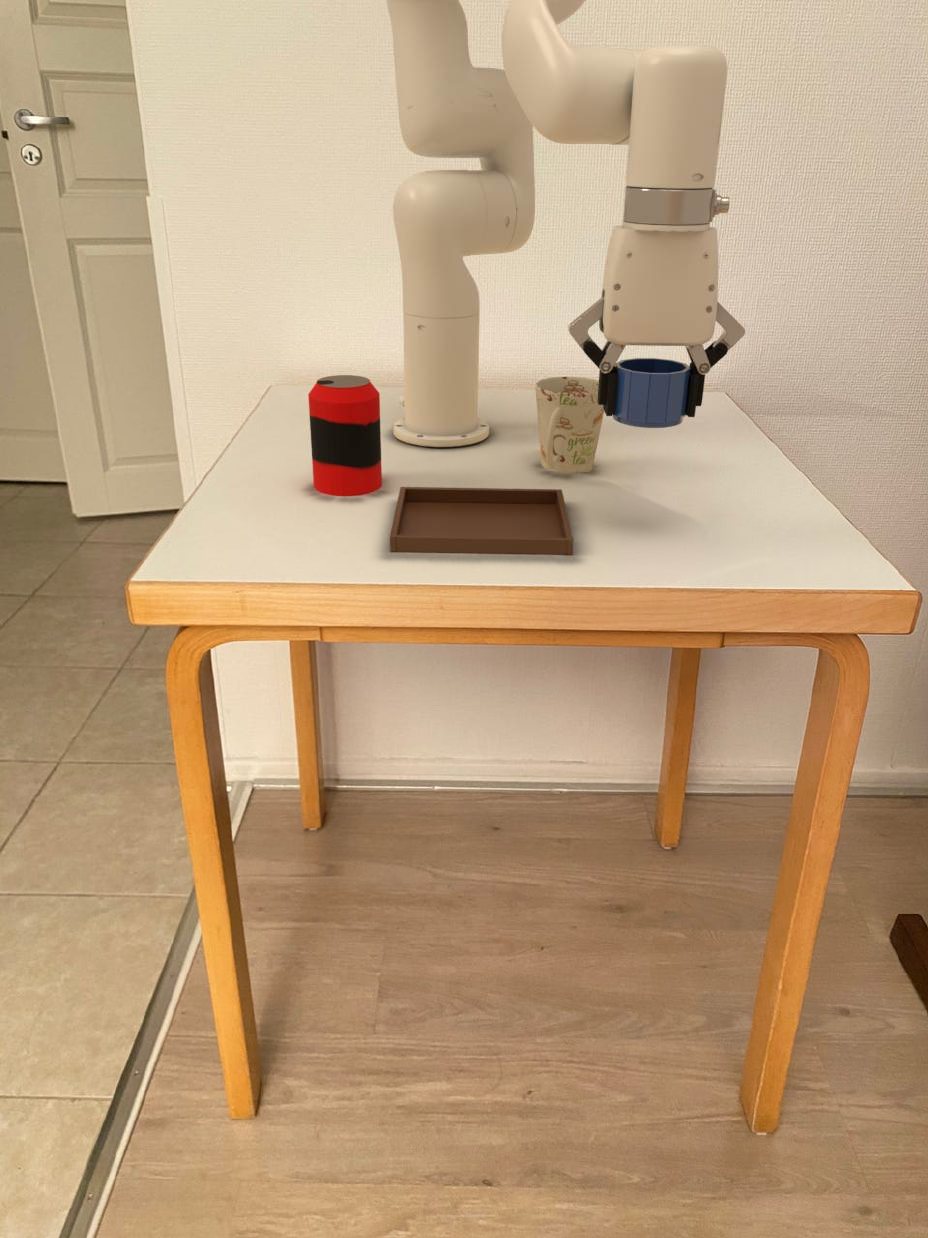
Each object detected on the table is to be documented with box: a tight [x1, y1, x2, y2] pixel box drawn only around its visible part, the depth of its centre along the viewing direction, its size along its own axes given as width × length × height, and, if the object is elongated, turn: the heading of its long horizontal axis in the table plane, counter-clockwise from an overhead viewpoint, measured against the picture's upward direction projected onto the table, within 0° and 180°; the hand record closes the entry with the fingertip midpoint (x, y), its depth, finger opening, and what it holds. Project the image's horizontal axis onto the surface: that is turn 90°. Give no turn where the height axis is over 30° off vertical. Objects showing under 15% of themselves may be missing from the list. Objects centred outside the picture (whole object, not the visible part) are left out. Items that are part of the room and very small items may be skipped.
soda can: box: [307, 374, 383, 497], centre depth 106 cm, size 8×8×12 cm
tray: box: [389, 486, 574, 556], centre depth 98 cm, size 17×14×2 cm
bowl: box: [612, 357, 691, 429], centre depth 92 cm, size 7×7×5 cm
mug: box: [535, 376, 605, 474], centre depth 112 cm, size 8×13×10 cm, turn 161°
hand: (648, 411), depth 93 cm, fingers closed on bowl, 6 cm apart
